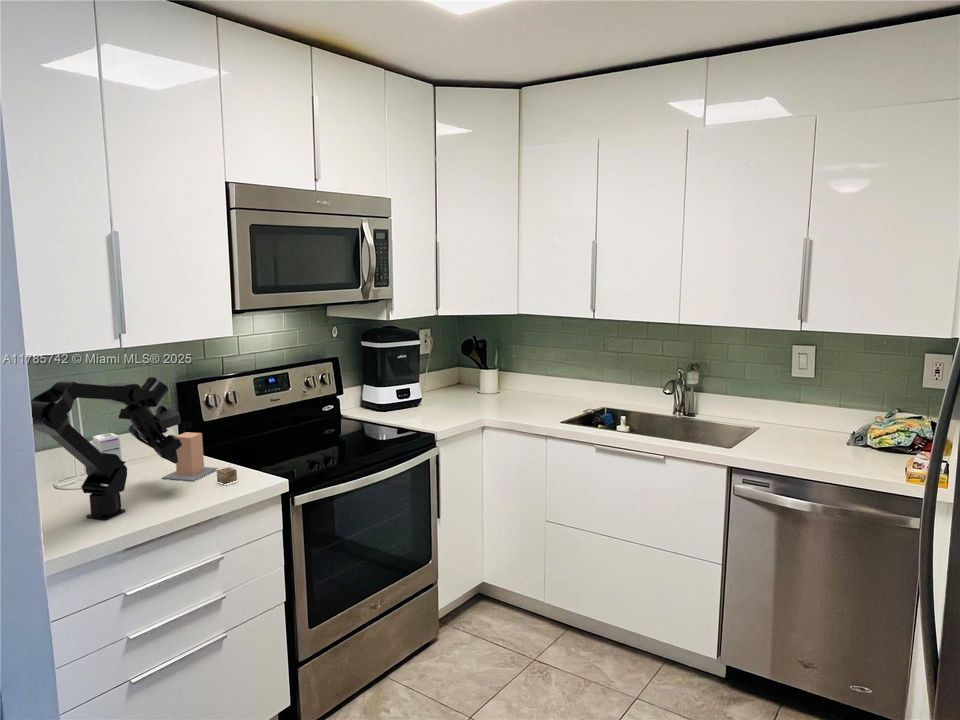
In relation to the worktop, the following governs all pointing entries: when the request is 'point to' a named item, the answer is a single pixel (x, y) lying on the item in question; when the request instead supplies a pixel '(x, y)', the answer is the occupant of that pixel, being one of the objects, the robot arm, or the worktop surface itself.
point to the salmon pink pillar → (190, 454)
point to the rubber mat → (189, 478)
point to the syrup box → (107, 445)
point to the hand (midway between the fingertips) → (168, 456)
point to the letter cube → (226, 475)
